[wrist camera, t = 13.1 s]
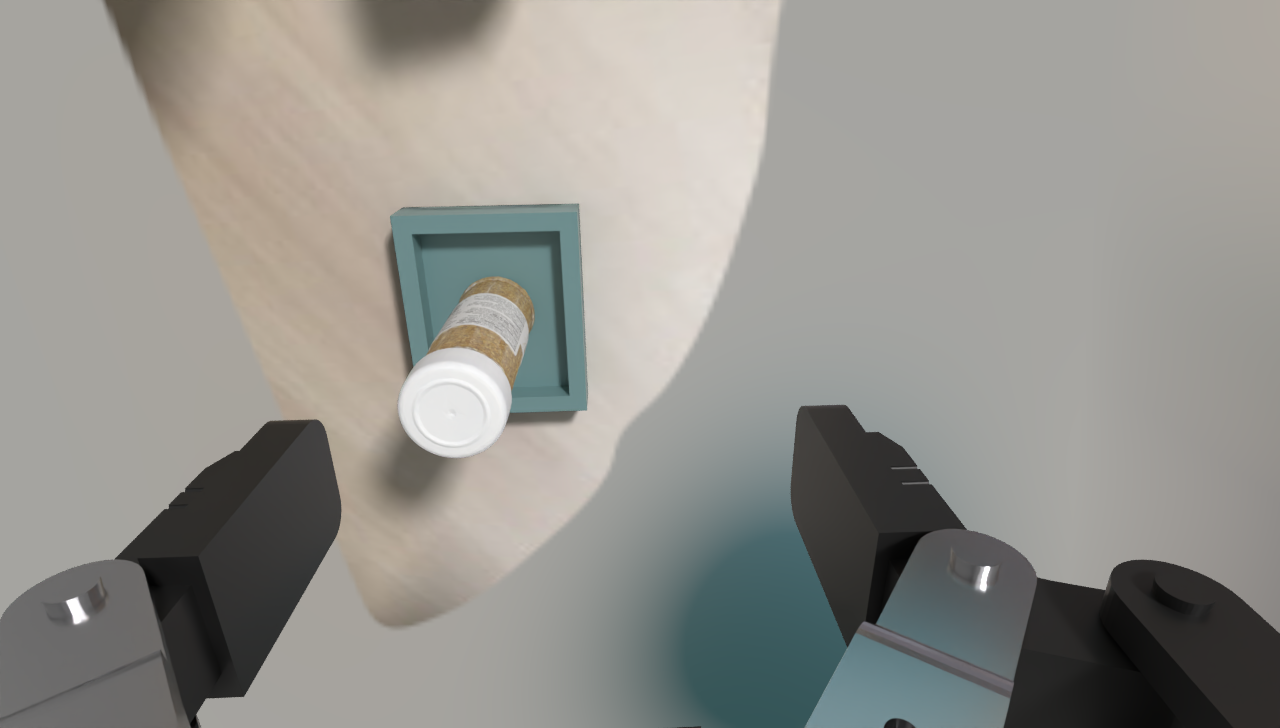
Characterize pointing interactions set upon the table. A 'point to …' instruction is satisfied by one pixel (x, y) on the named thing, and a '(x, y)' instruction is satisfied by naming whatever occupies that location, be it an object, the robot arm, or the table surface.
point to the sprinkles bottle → (469, 371)
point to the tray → (510, 248)
